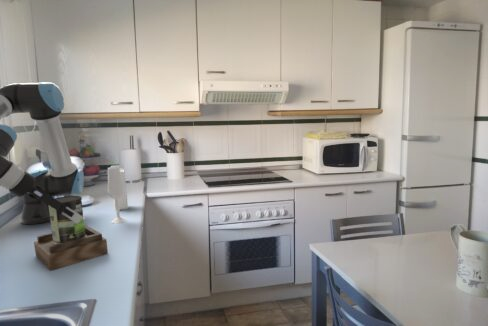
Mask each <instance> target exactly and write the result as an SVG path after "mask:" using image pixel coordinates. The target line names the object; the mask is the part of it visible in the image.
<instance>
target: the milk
mask: <svg viewBox="0 0 488 326" xmlns="http://www.w3.org/2000/svg"><path fill="white" fill-rule="evenodd" d="M110 167H119V169H120V174H121V179H122V184H123V189H124V193H123V195H122V196H121V198H120V199H118V203H119V211H121V210H128V209H129V204H128V195H127V193H128V192H127V183H126V175H125V174H126V173H125V169H124V165H123V164H114V165H110ZM112 200H113V201H112V202H113V208H114V210H115V211H116V201H115V200H114V199H113V198H112Z"/></svg>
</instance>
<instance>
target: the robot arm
mask: <svg viewBox="0 0 488 326" xmlns="http://www.w3.org/2000/svg"><path fill="white" fill-rule="evenodd" d="M64 107H65V102H64V96H63V92H62V90H61V89H60V88H59V86H58V85H57V84H55V83H53V82H45V81H40V82H26V83H25V82H24V83H23V82H22V83H11V84H7V85H4V86H2V87H0V121H1V120H2V119H4V118H7V117H9V116H11V115H12V114H18V113H19V114H21V113H26V114H27V113H29V116H30V118H31V120H33V121H35V122H36V125H37V127H38V130H39V132H40V133H39V135H40V137H41V140H42V142H43V145H44V148H45V152H46V155H47V158H48V162H49V164H50V169H48V168H39V169H35V170H32V171H31V170H30V171H25V169H24V168H22V167H21V166H19V165H18V164H16V163H15V162H14V161H11V160H9V159H8V158H7V157H8V155H9V153H11V152H10V151H11V150H13V147H14V146H15V142H16V141H17V137H18V135H17V132H16V131H15V130H14V128H13V127H12V126H9V125H7V124H1V123H0V187H2V188H4V189H5V190H8V191H9V192H10V193H11V194H12V195H15V197H18V198H21V197H22V201H23V208H22V213H21V217H20V218H21V224H24V225H36V224H43V223H47V222H51V221H50V213H49V206H51V207H52V208H54V209H56V210H57V211H59V213H58V214H59V215H61V214H63V215H64V216H66V217H67V218H69V219H71V220H72V221H74V222H75V223H77V224H78V223H79V222H80V220H81V219H82V218H84V216H83V217H82V216H81V215H79V214H78V213H76V212H75V211H73V210H72V209H70V208H69V207H67V206H66V205H64V204H62V203H61V202H59V201H57V200H56V199H55V197H66V196H77V195H79V194H81V193H82V191H83V189H84V183H85V175H84V174H85V173H84V171H83V170H82V169H79V168H78V167H77V164H76V163H74V162H72V158H71V155H70V152H69V149H68V144H67V142H66V138H65V135H64V131H63V127H62V123H61V120H60V116H61V114H62V111H63V110H64ZM61 206H62V207H61ZM60 207H61V208H60ZM59 208H60V209H59Z"/></svg>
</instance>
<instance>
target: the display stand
mask: <svg viewBox="0 0 488 326" xmlns="http://www.w3.org/2000/svg"><path fill="white" fill-rule="evenodd" d="M84 227H85V235H86V237H82V238H79V239H75V240H71V241H67V242H63V243H59V244H54V243H53V236H52V232H48V233H44V234H40V235H37V236H36V237H37V240H36V241H33V245H34V251H35V252H34V253H35V256H36V257H37V259H39V260H40V261H41V262H42V264H44V265H45V267H46V268H47V269H48V270H50V271H54V270H57V269H60V268H64V267H68V266H71V265H75V264H78V263H81V262H84V261H87V260H91V259H95V258H97V256H98V257H100V256H104V254H105V255H107V253H108V254H109V249H108V241H107V240H108V239H107V238H105V237H103V234H102V233H101V232H99V231H98V230H95V229H94V228H91V227H90V226H88V225H87V224H84ZM94 257H95V258H94Z"/></svg>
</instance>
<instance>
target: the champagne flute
mask: <svg viewBox="0 0 488 326" xmlns="http://www.w3.org/2000/svg"><path fill="white" fill-rule="evenodd" d="M123 193H124V189H123V184H122V179H121V174H120V169H119V167H111V166H110V167H107V195H108V197H110V198H111V199H112V200H113V199H114V200H115V201H116V210H115V211H116V218H114V219H113V220H112V221H111V222H110V223H111V224H122V223H124V222H127V218H124V217H122V216H121V215H120V210H119V203H118V199H120V198H121V196H122V195H123Z"/></svg>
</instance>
